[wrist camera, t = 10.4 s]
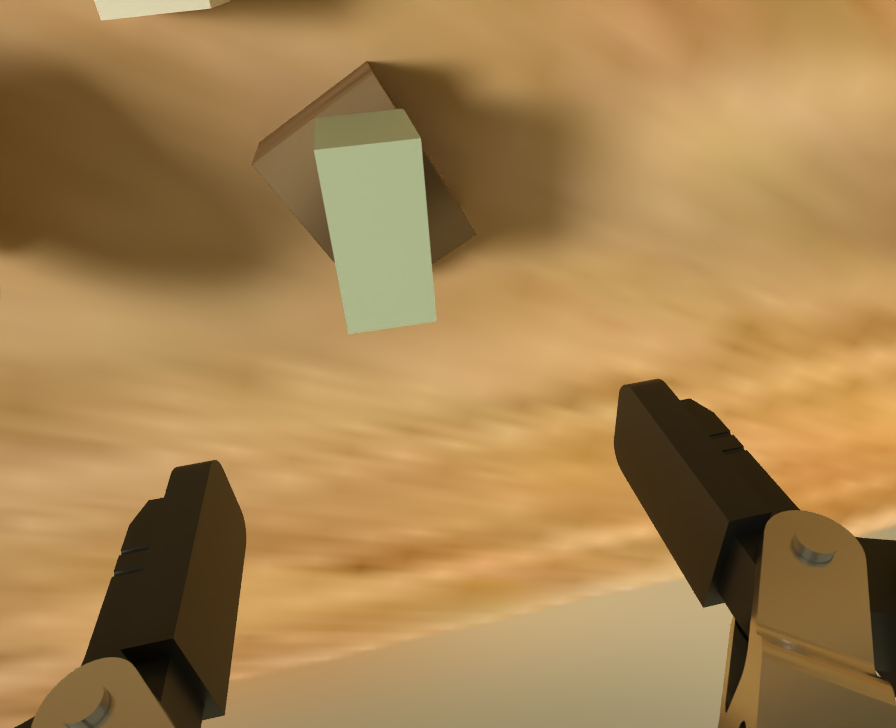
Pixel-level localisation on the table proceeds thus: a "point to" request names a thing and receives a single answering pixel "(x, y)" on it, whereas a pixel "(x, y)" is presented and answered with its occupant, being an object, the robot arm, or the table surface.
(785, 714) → the robot arm
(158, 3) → the cream brick
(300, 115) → the walnut brick
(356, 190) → the sage brick
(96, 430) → the table surface
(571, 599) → the table surface
